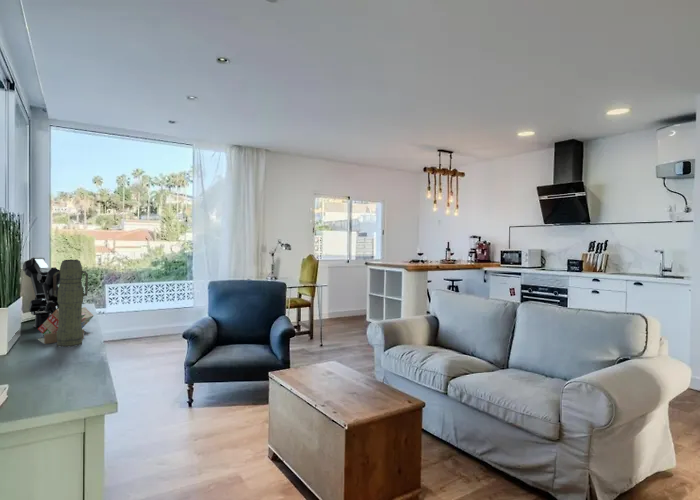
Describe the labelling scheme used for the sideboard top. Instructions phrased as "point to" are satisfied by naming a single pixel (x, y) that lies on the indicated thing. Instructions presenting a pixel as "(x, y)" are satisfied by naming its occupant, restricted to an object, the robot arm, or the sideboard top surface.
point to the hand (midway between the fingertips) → (59, 318)
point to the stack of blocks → (53, 321)
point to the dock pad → (51, 338)
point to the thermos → (70, 303)
